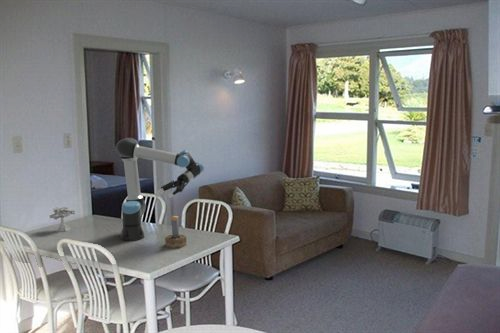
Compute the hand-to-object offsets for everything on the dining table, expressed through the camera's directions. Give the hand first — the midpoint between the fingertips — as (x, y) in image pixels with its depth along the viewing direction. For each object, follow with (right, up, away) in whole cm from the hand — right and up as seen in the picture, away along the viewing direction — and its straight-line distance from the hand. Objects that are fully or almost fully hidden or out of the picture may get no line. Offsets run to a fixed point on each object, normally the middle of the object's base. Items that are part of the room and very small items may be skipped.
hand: (162, 196), depth 308 cm
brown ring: (+10, -30, -7) cm, 32 cm away
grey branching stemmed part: (-75, -26, +32) cm, 86 cm away
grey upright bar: (+10, -30, -7) cm, 32 cm away
